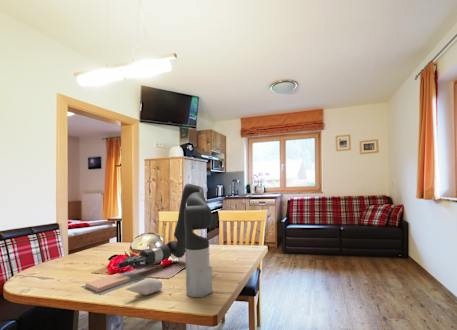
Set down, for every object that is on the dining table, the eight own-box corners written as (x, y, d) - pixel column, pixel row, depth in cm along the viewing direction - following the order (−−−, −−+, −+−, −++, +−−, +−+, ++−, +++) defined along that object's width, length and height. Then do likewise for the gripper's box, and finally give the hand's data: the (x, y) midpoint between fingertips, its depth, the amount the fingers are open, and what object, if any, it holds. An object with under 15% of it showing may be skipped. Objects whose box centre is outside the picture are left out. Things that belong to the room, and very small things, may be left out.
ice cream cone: (122, 301, 97) (159, 295, 107) (129, 293, 94) (166, 288, 104) (120, 285, 100) (156, 281, 110) (127, 277, 98) (163, 273, 108)
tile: (129, 277, 116) (98, 288, 105) (130, 281, 116) (98, 292, 105) (117, 273, 122) (85, 283, 111) (117, 277, 122) (85, 287, 111)
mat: (148, 278, 120) (148, 277, 120) (99, 296, 102) (99, 295, 102) (127, 272, 129) (127, 271, 129) (80, 287, 112) (80, 286, 112)
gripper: (143, 247, 136) (110, 255, 122) (159, 250, 128) (127, 259, 114) (143, 262, 135) (110, 271, 121) (160, 266, 127) (127, 277, 113)
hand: (118, 265), depth 118 cm, fingers closed
